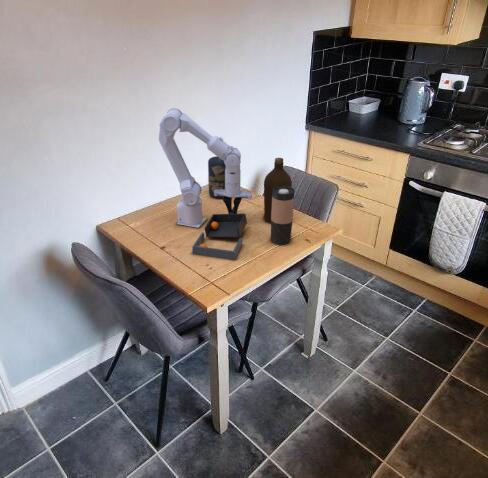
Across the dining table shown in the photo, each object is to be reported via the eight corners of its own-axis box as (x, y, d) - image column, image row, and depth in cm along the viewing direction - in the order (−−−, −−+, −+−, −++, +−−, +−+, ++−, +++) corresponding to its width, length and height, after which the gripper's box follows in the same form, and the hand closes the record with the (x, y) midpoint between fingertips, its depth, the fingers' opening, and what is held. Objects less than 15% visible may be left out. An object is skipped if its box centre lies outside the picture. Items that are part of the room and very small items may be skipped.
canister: (207, 198, 190) (205, 159, 182) (210, 190, 199) (209, 152, 190) (228, 200, 189) (228, 160, 180) (231, 191, 197) (231, 153, 188)
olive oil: (264, 225, 168) (267, 164, 155) (260, 213, 177) (262, 154, 165) (291, 224, 168) (296, 163, 156) (286, 212, 178) (290, 153, 165)
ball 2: (218, 226, 164) (210, 228, 163) (216, 219, 162) (209, 221, 162) (220, 229, 161) (212, 231, 161) (218, 222, 160) (211, 224, 159)
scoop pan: (240, 237, 155) (238, 227, 153) (206, 237, 159) (204, 228, 157) (252, 212, 170) (250, 203, 168) (220, 212, 174) (219, 204, 172)
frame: (202, 239, 159) (201, 232, 158) (242, 244, 155) (242, 237, 154) (192, 253, 151) (192, 246, 149) (234, 259, 147) (234, 252, 145)
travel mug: (285, 247, 153) (289, 196, 143) (266, 242, 157) (268, 191, 147) (294, 238, 159) (298, 188, 149) (275, 233, 162) (278, 183, 152)
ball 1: (201, 248, 149) (199, 241, 150) (199, 254, 151) (196, 247, 152) (209, 248, 150) (207, 241, 152) (206, 253, 152) (204, 247, 154)
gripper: (254, 179, 163) (253, 211, 170) (217, 175, 167) (218, 207, 173) (249, 186, 157) (249, 219, 164) (211, 182, 161) (212, 215, 167)
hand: (232, 213), depth 168 cm, fingers closed on scoop pan, 2 cm apart
